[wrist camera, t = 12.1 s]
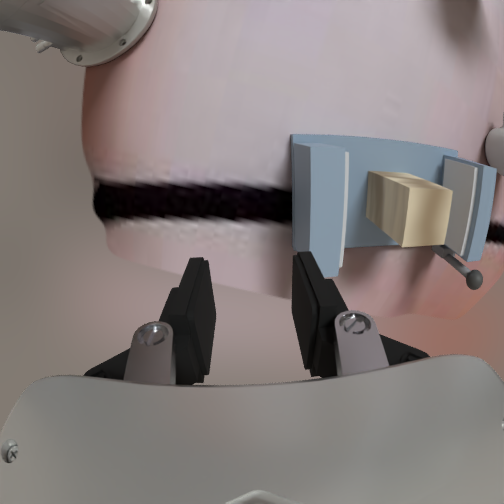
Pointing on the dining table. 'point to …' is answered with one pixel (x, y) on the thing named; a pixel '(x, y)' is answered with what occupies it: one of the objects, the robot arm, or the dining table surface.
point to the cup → (496, 148)
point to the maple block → (408, 208)
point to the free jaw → (321, 203)
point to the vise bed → (426, 167)
